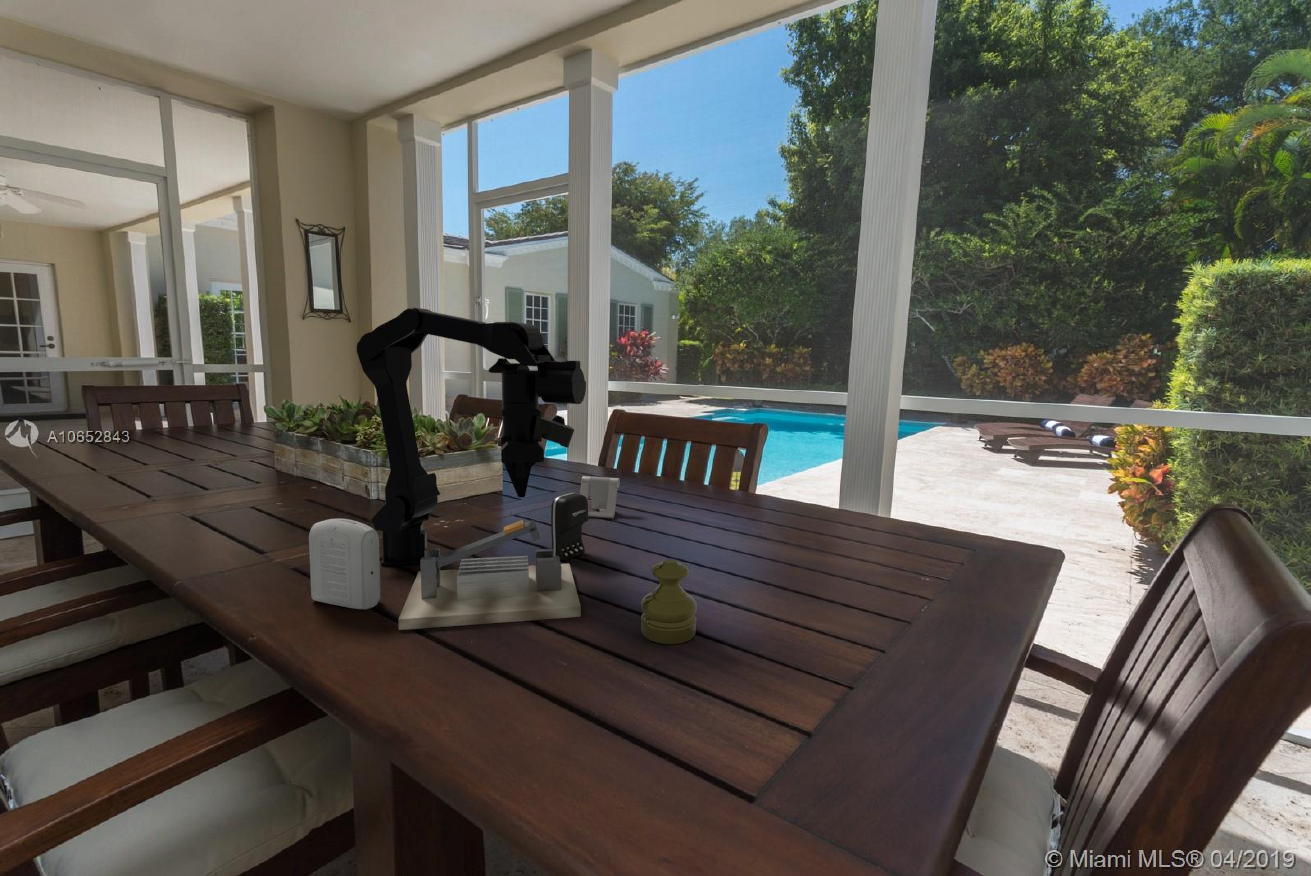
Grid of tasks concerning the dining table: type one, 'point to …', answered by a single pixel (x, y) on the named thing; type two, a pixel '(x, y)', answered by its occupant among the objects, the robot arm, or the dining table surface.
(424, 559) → the bracket
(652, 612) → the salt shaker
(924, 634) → the dining table surface
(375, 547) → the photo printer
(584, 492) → the portable electronic device stand
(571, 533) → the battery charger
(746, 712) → the dining table surface
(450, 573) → the base board
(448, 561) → the strap
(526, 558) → the finned block
